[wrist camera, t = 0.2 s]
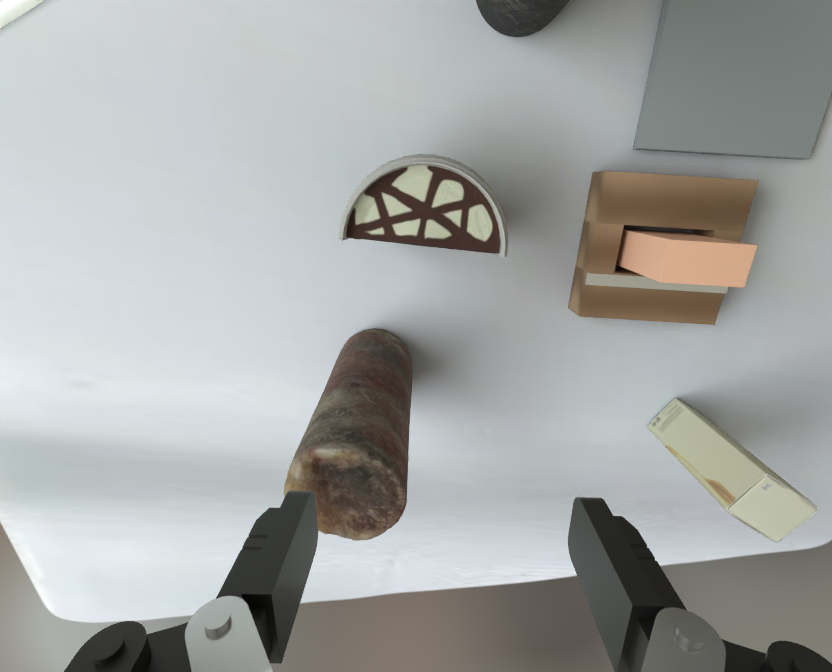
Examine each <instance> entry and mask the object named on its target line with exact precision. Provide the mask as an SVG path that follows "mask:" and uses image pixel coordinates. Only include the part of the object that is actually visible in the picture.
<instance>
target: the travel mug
mask: <svg viewBox="0 0 832 672" xmlns="http://www.w3.org/2000/svg"><path fill="white" fill-rule="evenodd" d="M568 1H569V0H476V2H477V5H478V8H479V10H480V12H481V14H482V16H483V18H484V19H485V21H486V22H487V23H488V24H489V25H490V26H491V27H492V28H493V29H495V30H496V31H498V32H499V33H502V34H504V35H507V36H513V37H522V36H527V35H530V34H533V33H535V32H537V31H539V30H541V29H542V28H543V27H545V26H546V25H547V24H548V23H549V22H550V21H551V20H552V19H553V18H554V17H555V16H556V15H557V14H558V13H559V11H560V10H561V9H562V8H563V7H564V6H565V4H566V3H567V2H568Z"/></svg>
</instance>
